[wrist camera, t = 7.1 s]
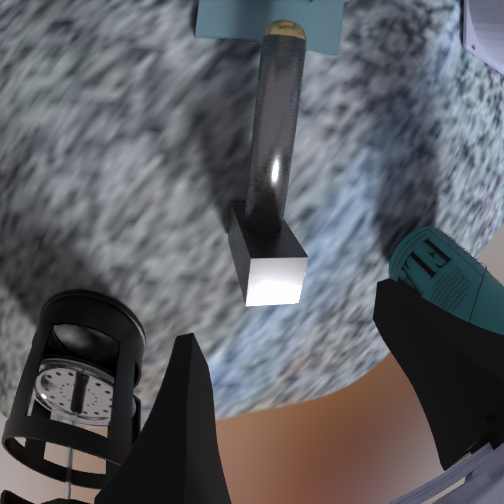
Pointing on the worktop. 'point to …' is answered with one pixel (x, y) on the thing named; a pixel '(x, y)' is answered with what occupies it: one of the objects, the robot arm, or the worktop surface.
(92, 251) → the worktop surface
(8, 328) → the worktop surface
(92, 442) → the french press
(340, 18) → the eye bracket
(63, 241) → the worktop surface
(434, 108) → the worktop surface
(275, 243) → the hook rod
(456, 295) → the beverage bottle
